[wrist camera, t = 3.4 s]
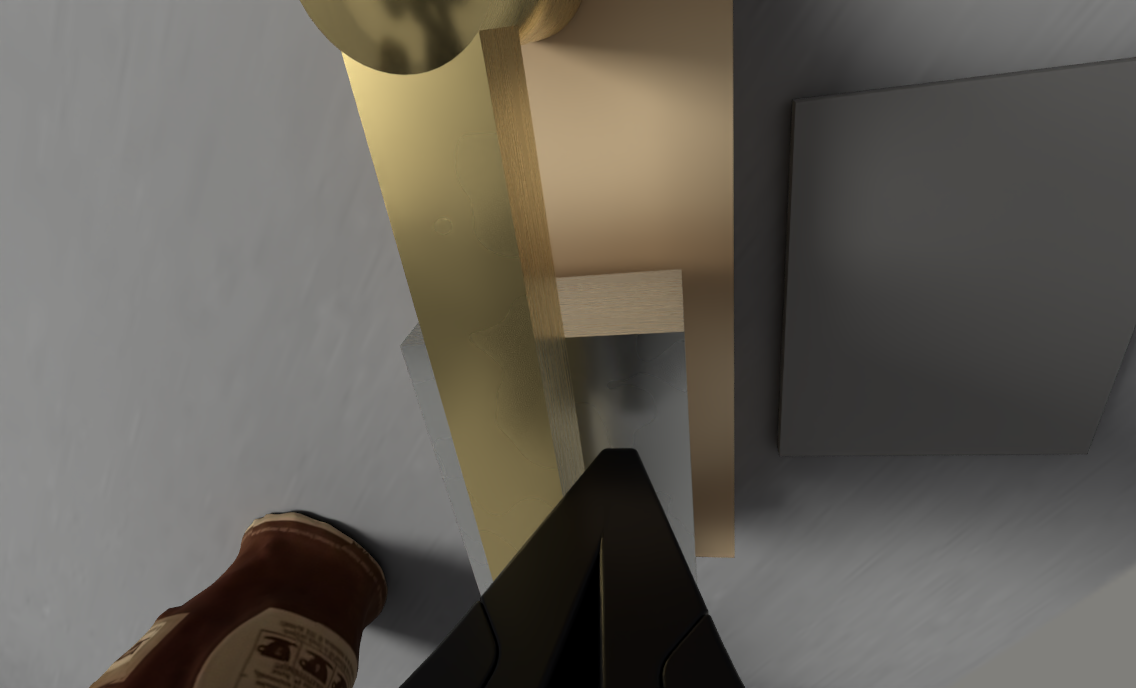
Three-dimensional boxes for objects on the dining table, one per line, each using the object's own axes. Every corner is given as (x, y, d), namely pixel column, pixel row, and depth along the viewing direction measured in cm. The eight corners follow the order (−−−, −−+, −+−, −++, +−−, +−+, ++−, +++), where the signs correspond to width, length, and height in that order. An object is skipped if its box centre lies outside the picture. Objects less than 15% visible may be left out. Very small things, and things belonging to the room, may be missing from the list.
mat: (1078, 444, 16) (1087, 454, 16) (777, 447, 18) (779, 456, 18) (1222, 46, 11) (1239, 47, 11) (792, 99, 13) (795, 102, 13)
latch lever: (464, -81, 10) (244, -170, 5) (578, -103, 10) (470, -226, 4) (559, 455, 16) (504, 674, 11) (632, 455, 15) (613, 683, 10)
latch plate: (727, 495, 19) (741, 619, 15) (522, 494, 21) (488, 607, 17) (720, -175, 11) (746, -271, 7) (379, -100, 12) (247, -147, 8)
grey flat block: (695, 544, 15) (699, 635, 13) (514, 540, 16) (490, 624, 14) (681, 269, 11) (684, 331, 9) (447, 285, 12) (400, 345, 10)
